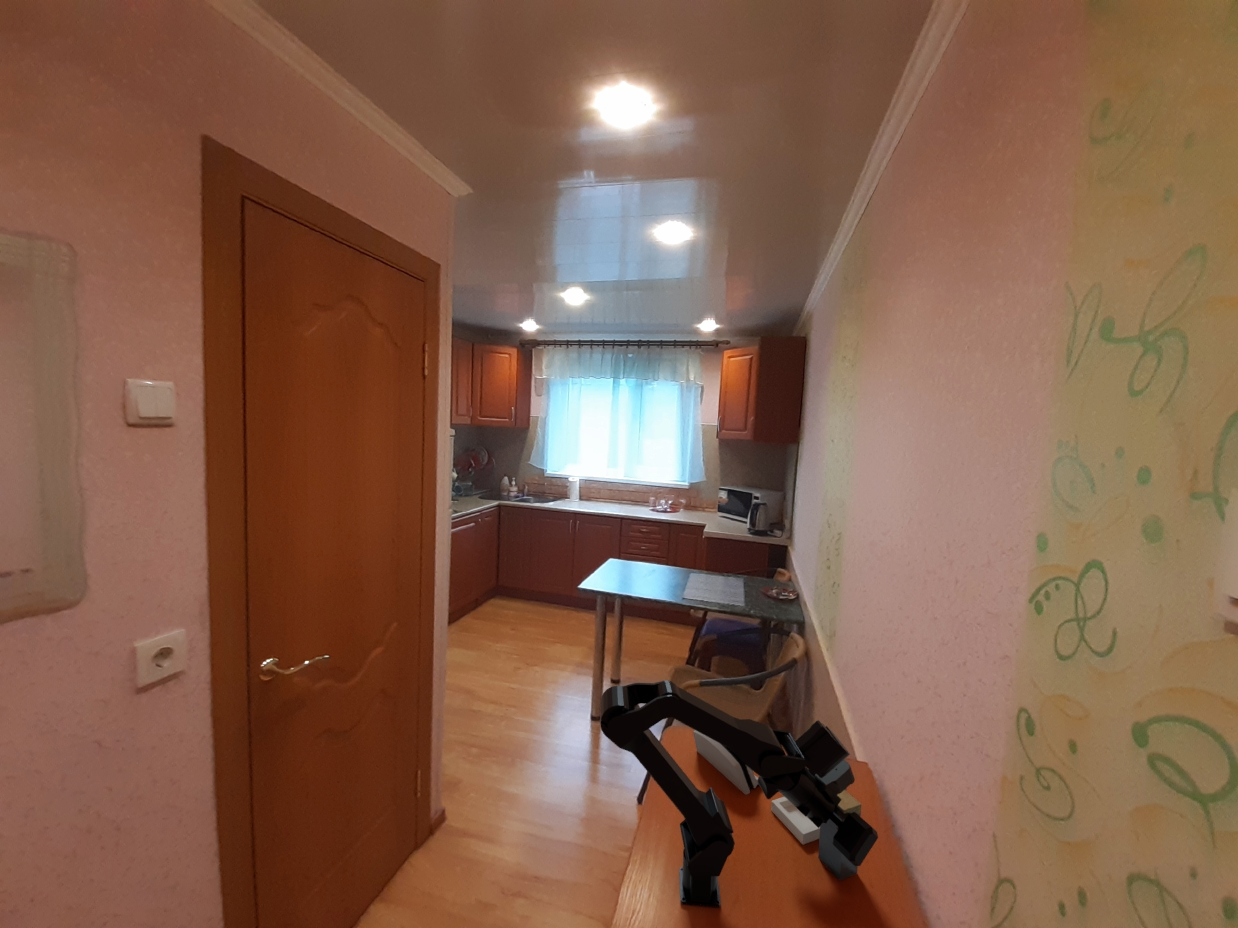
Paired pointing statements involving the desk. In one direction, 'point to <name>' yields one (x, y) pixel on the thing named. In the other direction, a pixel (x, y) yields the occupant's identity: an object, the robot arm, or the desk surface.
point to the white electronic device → (726, 762)
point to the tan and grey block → (826, 848)
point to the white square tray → (795, 820)
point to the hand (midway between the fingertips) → (845, 828)
